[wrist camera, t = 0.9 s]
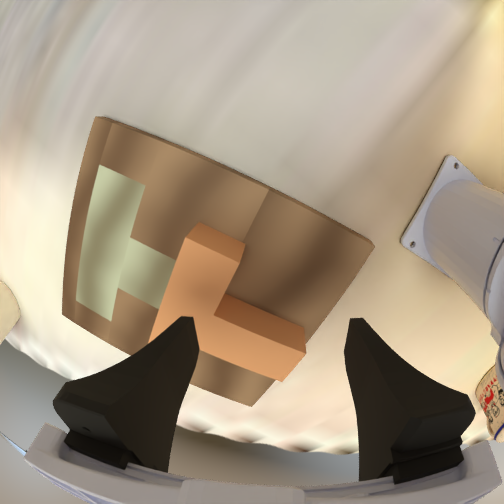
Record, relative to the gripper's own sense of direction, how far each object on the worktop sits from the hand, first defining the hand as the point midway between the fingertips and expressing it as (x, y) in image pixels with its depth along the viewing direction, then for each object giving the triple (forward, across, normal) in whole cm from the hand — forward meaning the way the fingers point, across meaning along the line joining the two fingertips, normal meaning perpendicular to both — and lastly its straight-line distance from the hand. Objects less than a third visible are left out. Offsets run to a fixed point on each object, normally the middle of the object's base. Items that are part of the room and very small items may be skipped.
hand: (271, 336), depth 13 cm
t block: (+8, +3, +5) cm, 10 cm away
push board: (+9, +8, +2) cm, 12 cm away
